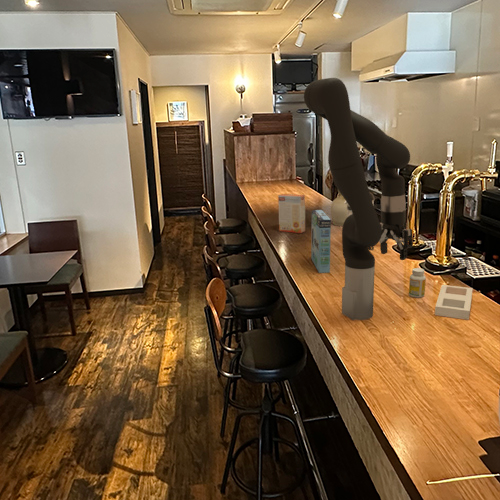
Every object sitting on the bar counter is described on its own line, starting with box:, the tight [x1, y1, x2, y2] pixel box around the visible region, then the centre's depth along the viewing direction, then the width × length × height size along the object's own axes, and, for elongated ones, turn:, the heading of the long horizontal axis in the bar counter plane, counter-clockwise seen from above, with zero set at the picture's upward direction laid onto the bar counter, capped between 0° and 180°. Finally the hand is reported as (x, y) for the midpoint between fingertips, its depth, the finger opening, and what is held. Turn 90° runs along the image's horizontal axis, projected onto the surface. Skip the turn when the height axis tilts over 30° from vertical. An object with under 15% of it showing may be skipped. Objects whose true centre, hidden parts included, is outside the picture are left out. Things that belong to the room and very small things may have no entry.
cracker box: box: [277, 193, 306, 234], centre depth 260 cm, size 14×6×21 cm, turn 58°
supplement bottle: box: [408, 267, 427, 299], centre depth 165 cm, size 5×5×10 cm
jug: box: [330, 189, 348, 227], centre depth 271 cm, size 15×16×25 cm
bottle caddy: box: [434, 284, 473, 321], centre depth 156 cm, size 21×10×3 cm, turn 153°
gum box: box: [310, 209, 332, 274], centre depth 199 cm, size 19×5×23 cm, turn 2°
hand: (393, 256), depth 153 cm, fingers open, 8 cm apart
